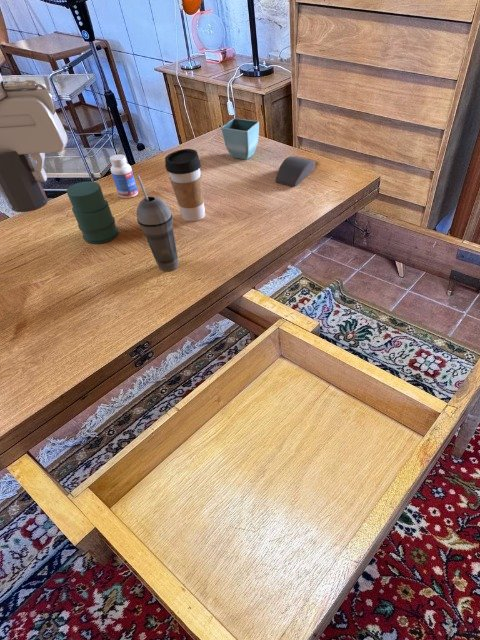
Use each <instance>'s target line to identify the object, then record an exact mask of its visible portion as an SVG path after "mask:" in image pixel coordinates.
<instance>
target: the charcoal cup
mask: <svg viewBox="0 0 480 640" xmlns="http://www.w3.org/2000/svg"><path fill="white" fill-rule="evenodd" d="M33 169H34V166H33V164H32V161H31V159H30V157H29V154H21V155H19V154H18V153H17V152H16V151H12V152H9V153H6V154H1V155H0V192H1V194H2V196H3V198H4V200H5V202H6V204H7V206H8V207H9V209H10V210H11V211H12V212H15V213H28V212H33V211H36V210H39V209H41V208H43V207H45V206H46V205H47V204H48V202H49V199H48V196H47V195H46V192H45V190H44V187H43V185H42V182H36V181H35V177H34V176H33V174H32V170H33Z"/></svg>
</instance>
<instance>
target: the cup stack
mask: <svg viewBox="0 0 480 640" xmlns="http://www.w3.org/2000/svg"><path fill="white" fill-rule="evenodd" d="M66 194H67V197H68V199H69V201H70V204H71V206H72V207H71V210H72V213H73V215H74V218H75V221H76V222H77V226H78V229H79V231H80V232H81V233H82V239H83V241H85V242H86V243H87V244H91V245H102V244H106V243H109V242H111V241H113V240H115V239H116V238H117V237H118V236H119V235H120V230H119V228H118V226H117V225H116V219H115V217H114V216H113V213H112V210H111V208H110V204H109V202H108V200H106V198H105V195H104V193H103V191H102V187H101V185H100V184H99V182H96V181H92V180H89V181H88V180H87V181H81V182H76V183H74V184H71V185H70V186H68V188H66Z"/></svg>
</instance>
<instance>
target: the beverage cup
mask: <svg viewBox="0 0 480 640" xmlns="http://www.w3.org/2000/svg"><path fill="white" fill-rule="evenodd" d="M136 179H137V181H138V183H139V185H140V188H141V191H142V193H143V195H144V196H143V197H144V198H142V199H141V200H140V202H139V203H138V205H137V208H136V221H137V223H138V224H139V227H140V229H141V230H142V232H143V234H144V236H145V239H146V241H147V243H148V246H149V248H150V250H151V253H152V256H153V259H154V260H155V263H156V264H157V267H158V269H159V270H160V271H162V272H172V271H175V270H176V269H177V268H178V267H179V256H178V251H177V245H176V238H175V234H174V227H173V226H174V223H173V222H174V220H173V214H172V212H171V209H170V207H169V205H168V204H167V202H165V201H164V200H163V199H161V198H160V197H157V196H148V194H147V192H146V189H145V187H144V184H143V182H142V179H141V176H140V174H137V175H136Z"/></svg>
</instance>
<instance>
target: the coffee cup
mask: <svg viewBox="0 0 480 640" xmlns="http://www.w3.org/2000/svg"><path fill="white" fill-rule="evenodd" d="M164 162H165V165H164V167H165V171H167V172H168V174H169V175H168V176H169V181H170V184H171V187H172V190H173V192H174V195H175V199H176V202H177V205H178V207H179V211H180V213H181V217H182V219H183V220H184V221H186V222H198V221H201V220H202V219H204V218H205V217H206V210H205V197H204V187H203V177H202V175H203V174H202V172H201V167H202V162H201V159H200V157H199V153H198V151H197V150H195V149H193V148H182V149H180V150H175V151H173V152H170V153H168V154H166V156H165V157H164Z"/></svg>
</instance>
